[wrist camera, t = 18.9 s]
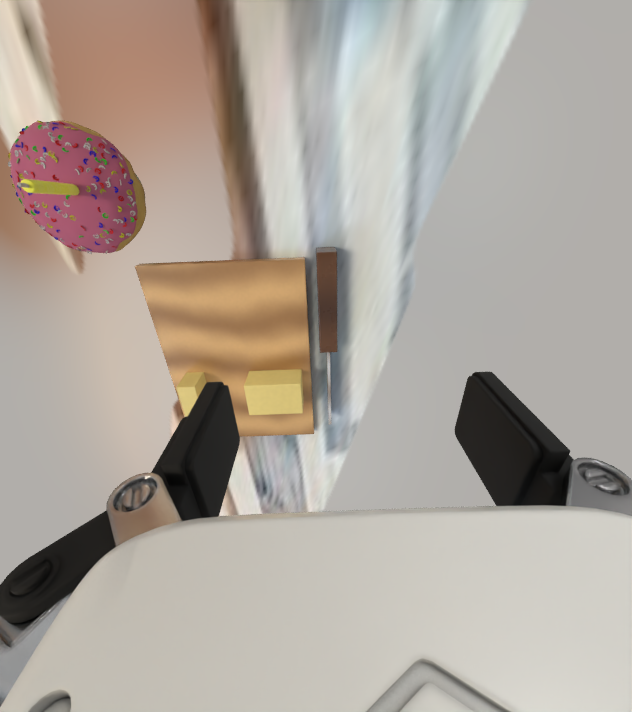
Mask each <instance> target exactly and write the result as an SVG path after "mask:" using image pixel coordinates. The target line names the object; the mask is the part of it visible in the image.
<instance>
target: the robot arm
mask: <svg viewBox="0 0 632 712" xmlns="http://www.w3.org/2000/svg"><path fill="white" fill-rule="evenodd" d="M455 435H456V437H457V439H458V441H459V443H460V444H461V446H462V448H463V450H464V451H465V453H466V455H467V456H468V458H469V460H470V461H471V463H472V465H473V467H474V468H475V470H476V472H477V473H478V475H479V477H480V478H481V480H482V482H483V483H484V485H485V487H486V489H487V490H488V492H489V494H490V495H491V497H492V499H493V501H494V502H495V504H496V506H479V507H443V508H411V509H410V508H409V509H382V510H381V509H379V510H352V511H351V510H350V511H323V512H297V513H272V514H252V515H234V516H219V513H220V510H221V506H222V503H223V499H224V496H225V492H226V489H227V485H228V482H229V478H230V475H231V471H232V468H233V464H234V461H235V457H236V454H237V451H238V447H239V442H240V437H239V432H238V427H237V423H236V418H235V414H234V409H233V404H232V400H231V395H230V391H229V387H228V385H224V384H223V382H207V383H206V384H205V386H204V388H203V390H202V391H201V393H200V395H199V397H198V399H197V400H196V402H195V404H194V406H193V408H192V409H191V411H190V413H189V415H188V416H186V417H184V418H183V419H182V420H181V422H180V423H179V425H178V427H177V429H176V430H175V432H174V434H173V436H172V437H171V439H170V441H169V443H168V444H167V446H166V448H165V450H164V451H163V454H162V455H161V457H160V459H159V460H158V462H157V464H156V465H155V467H154V469H153V471H152V472H151V473H143V474H138V475H135V476H133V477H131V478H129V479H127V480H126V481H124V482H122V483H121V484H120V485H119V486H118V487H117V488H116V489H115V490H114V491H113V492H112V494H111V495H110V496H109V499H108V501H107V511H105V512H104V513H102V514H100V515H98V516H97V517H95V518H93V519H92V520H90V521H89V522H87V523H85V524H84V525H82V526H80V527H79V528H77V529H76V530H74V531H72V532H71V533H69V534H67V535H66V536H64V537H62V538H61V539H59V540H58V541H56V542H54V543H53V544H51V545H49V546H48V547H46V548H45V549H43V550H41V551H39V552H38V553H36V554H35V555H33V556H31V557H30V558H28V559H27V560H25V561H24V562H23V563H21V564H20V565H18V567H16V568H15V569H14V570H13V571H12V572H11V573H10V574H9V575H8V576H7V577H6V579H5V580H4V581H3V583H2V584H1V585H0V712H632V480H631V479H630V478H629V477H628V476H627V475H626V474H624V473H623V472H622V471H620V470H618V469H617V468H615V467H614V466H612V465H609V464H607V463H605V462H603V461H599V460H596V459H591V458H577V459H575V460H573V459H572V457H571V456H570V455H569V453H570V450H569V449H568V448H567V447H566V446H565V445H564V444H563V443H562V442H560V440H559V439H558V438H557V437H556V436H555V435H554V434H553V433H552V432H551V431H550V430H549V429H548V428H547V427H546V426H545V425H544V424H543V423H542V422H541V421H540V420H539V419H538V418H537V417H536V416H535V415H534V414H533V413H532V412H531V411H530V410H529V409H528V408H527V407H526V406H525V405H524V404H523V403H522V402H521V401H520V400H519V399H518V398H517V397H516V396H515V395H514V394H513V393H512V392H511V391H510V390H509V389H508V388H507V387H506V386H505V385H504V384H503V383H502V382H501V381H500V380H499V379H498V378H497V377H496V376H495V375H494V374H493V373H492V372H475V373H473V374H472V376H469V377H468V379H467V383H466V387H465V391H464V395H463V399H462V403H461V407H460V411H459V415H458V418H457V422H456V426H455Z"/></svg>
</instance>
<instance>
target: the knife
mask: <svg viewBox="0 0 632 712" xmlns="http://www.w3.org/2000/svg"><path fill="white" fill-rule="evenodd" d="M316 259H317V286H318V313H319V341H320V353H324V352H327V392H328V419H329V424H331V378H330V352H337V251H336V249H335V247H322V248H316Z"/></svg>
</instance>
